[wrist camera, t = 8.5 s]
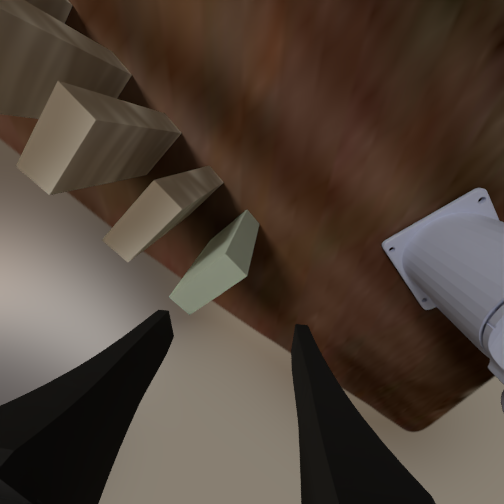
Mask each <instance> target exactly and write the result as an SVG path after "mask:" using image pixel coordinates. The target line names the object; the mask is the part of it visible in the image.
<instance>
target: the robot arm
mask: <svg viewBox="0 0 504 504" xmlns="http://www.w3.org/2000/svg"><path fill="white" fill-rule="evenodd" d="M481 197H482V199H481V201H479V202H478V200H479V199H480V198H481ZM391 247H393V249H392V250H390V251H389V249H390V248H391ZM382 248H383V249H384V251H385V252H386V254H387V255H388V257H389V258H390V260H391V261H392V263H393V264H394V266H395V267H396V269H397V270H398V272H399V273H400V275H401V276H402V278H403V280H404V281H405V283H406V284H407V286H408V287H409V289H410V290H411V292H412V293H413V295H414V296H415V298H416V299H417V301H418V302H419V304H420V305H421V307H422V308H423V309H425V310H430V309H433V308H435V307H437V308H438V309H439V310H440V311H441V312H442V313H443V314H444V315H445V316H446V317H447V318H448V319H449V320H450V321H451V322H452V323H453V324H454V325H455V326H456V327H457V328H458V329H459V330H460V331H461V332H462V333H463V334H464V335H465V336H466V337H467V338H468V339H469V340H470V341H471V342H472V343H473V344H474V345H475V346H476V347H477V348H478V349H479V350H480V351H481V352H482V353H484V354H485V355H486V356H487V357H488V358H490V363H489V365H488V369H489V370H490V371H491V372H492V373H493V374H494V375H495V376H496V377H497V378H498V379H499V380H500V381H501V382H502V383H503V384H504V222H501V221H499V219H498V216H497V214H496V211H495V209H494V207H493V204H492V202H491V200H490V197H489V195H488V193H487V191H486V189H483V188H476V189H474V190H472V191H470V192H468V193H467V194H465V195H463V196H461V197H460V198H458V199H456V200H454V201H453V202H451V203H449V204H447V205H446V206H444V207H442V208H440V209H439V210H437V211H435V212H433V213H432V214H430V215H428V216H427V217H425V218H423V219H421V220H420V221H418V222H416V223H414V224H413V225H411V226H409V227H407V228H406V229H404V230H402V231H400V232H399V233H397V234H395V235H393V236H392V237H390V238H388V239H386V240H385V241H383V243H382ZM423 298H424V299H423ZM173 337H174V335H173V330H172V325H171V320H170V315H169V311H166V310H158V311H156V312H155V313H154V314H152V315H151V316H150V317H148V318H147V319H146V320H145V321H144V322H142V323H141V324H139V325H138V326H137V327H136V328H134V329H133V330H132V331H130V332H129V333H127V334H126V335H125V336H124V337H122V338H121V339H119V340H118V341H116V342H115V343H113V344H112V345H111V346H109V347H108V348H106V349H105V350H103V351H102V352H101V353H99V354H97V355H96V356H94V357H93V358H91V359H89V360H88V361H86V362H84V363H83V364H81V365H80V366H78V367H76V368H74V369H73V370H71V371H69V372H67V373H66V374H64V375H62V376H60V377H58V378H56V379H54V380H53V381H51V382H49V383H47V384H45V385H43V386H41V387H39V388H37V389H35V390H33V391H31V392H29V393H27V394H25V395H23V396H21V397H19V398H17V399H14V400H12V401H10V402H8V403H6V404H3V405H1V406H0V504H98V503H99V500H100V498H101V495H102V492H103V490H104V487H105V484H106V481H107V479H108V476H109V474H110V471H111V469H112V466H113V464H114V461H115V459H116V456H117V454H118V451H119V449H120V446H121V444H122V442H123V439H124V437H125V435H126V432H127V430H128V428H129V425H130V423H131V421H132V419H133V417H134V414H135V412H136V410H137V408H138V406H139V403H140V401H141V400H142V397H143V396H144V394H145V392H146V390H147V388H148V386H149V385H150V383H151V381H152V379H153V377H154V376H155V374H156V372H157V370H158V369H159V367H160V365H161V363H162V361H163V360H164V358H165V356H166V354H167V352H168V349H169V347H170V345H171V342H172V340H173ZM291 357H292V375H293V384H294V391H295V400H296V408H297V416H298V427H299V447H300V473H301V503H302V504H435V502H434V500H433V498H432V496H431V495H430V494H429V493H428V492H427V491H426V490H425V489H424V488H423V486H422V485H421V484H420V483H419V482H418V481H417V480H416V479H415V478H414V477H413V476H412V475H411V474H410V473H409V472H408V470H407V469H406V468H405V467H404V466H403V465H402V464H401V463H400V462H399V460H397V458H396V457H395V456H394V455H393V453H392V452H391V451H390V450H389V449H388V448H387V447H386V445H385V444H384V443H383V442H382V441H381V440H380V438H379V437H378V436H377V434H376V433H375V432H374V431H373V430H372V428H371V427H370V426H369V425H368V423H367V422H366V421H365V420H364V418H363V417H362V416H361V414H360V413H359V412H358V411H357V409H356V408H355V406H354V405H353V404H352V402H351V401H350V399H349V398H348V397H347V395H346V394H345V392H344V391H343V389H342V388H341V386H340V385H339V383H338V382H337V380H336V378H335V377H334V375H333V373H332V372H331V370H330V368H329V367H328V365H327V363H326V361H325V360H324V358H323V356H322V354H321V352H320V350H319V348H318V346H317V344H316V342H315V340H314V338H313V336H312V334H311V332H310V329H309V327H308V326H307V325H299V324H296V325H295V331H294V337H293V343H292V349H291ZM501 405H502V409H503V412H504V391H503V392H502V396H501Z"/></svg>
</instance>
